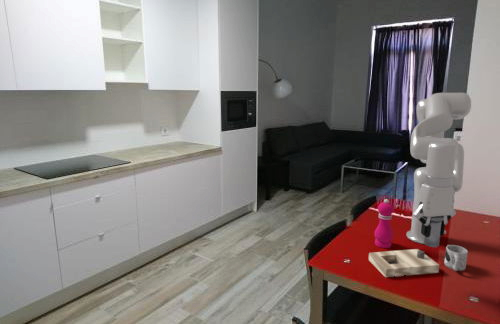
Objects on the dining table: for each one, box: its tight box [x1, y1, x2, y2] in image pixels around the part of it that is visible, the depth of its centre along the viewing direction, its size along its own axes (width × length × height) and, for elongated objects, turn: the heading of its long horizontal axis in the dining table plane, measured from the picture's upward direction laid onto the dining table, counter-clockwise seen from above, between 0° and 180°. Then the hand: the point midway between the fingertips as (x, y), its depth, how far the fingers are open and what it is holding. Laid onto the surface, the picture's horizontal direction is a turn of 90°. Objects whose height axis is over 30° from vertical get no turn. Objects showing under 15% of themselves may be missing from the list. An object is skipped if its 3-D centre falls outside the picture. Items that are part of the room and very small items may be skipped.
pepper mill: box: [374, 198, 395, 249], centre depth 134 cm, size 7×7×20 cm
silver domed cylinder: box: [423, 216, 444, 248], centre depth 106 cm, size 5×5×10 cm
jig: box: [368, 248, 440, 278], centre depth 119 cm, size 20×12×5 cm, turn 98°
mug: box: [443, 244, 469, 272], centre depth 117 cm, size 10×7×7 cm
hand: (432, 234), depth 106 cm, fingers closed on silver domed cylinder, 4 cm apart
